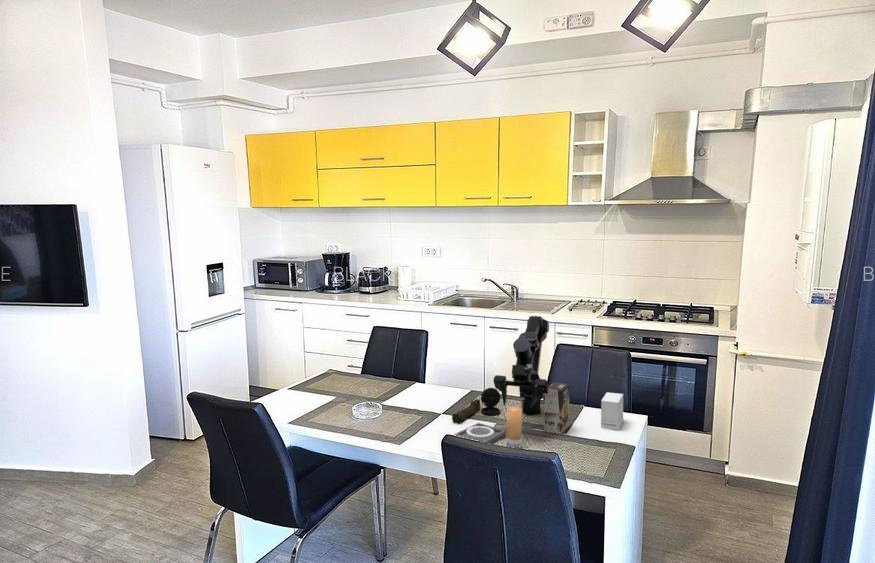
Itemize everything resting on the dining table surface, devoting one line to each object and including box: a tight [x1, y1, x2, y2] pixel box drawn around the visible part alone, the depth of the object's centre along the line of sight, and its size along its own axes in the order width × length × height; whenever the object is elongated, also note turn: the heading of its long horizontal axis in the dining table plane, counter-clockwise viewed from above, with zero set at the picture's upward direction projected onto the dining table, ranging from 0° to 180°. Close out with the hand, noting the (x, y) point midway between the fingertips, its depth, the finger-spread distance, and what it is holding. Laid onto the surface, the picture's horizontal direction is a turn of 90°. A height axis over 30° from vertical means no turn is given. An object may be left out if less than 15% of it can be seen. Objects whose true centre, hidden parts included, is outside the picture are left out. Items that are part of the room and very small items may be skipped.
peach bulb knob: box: [506, 405, 523, 449], centre depth 189 cm, size 5×5×13 cm
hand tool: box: [451, 398, 481, 425], centre depth 217 cm, size 19×4×5 cm, turn 145°
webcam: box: [480, 387, 501, 417], centre depth 220 cm, size 8×8×10 cm
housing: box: [453, 422, 507, 445], centre depth 196 cm, size 14×12×2 cm
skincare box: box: [600, 391, 624, 431], centre depth 207 cm, size 10×6×10 cm, turn 152°
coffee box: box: [543, 381, 570, 435], centre depth 203 cm, size 9×6×16 cm
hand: (517, 406), depth 193 cm, fingers open, 9 cm apart
